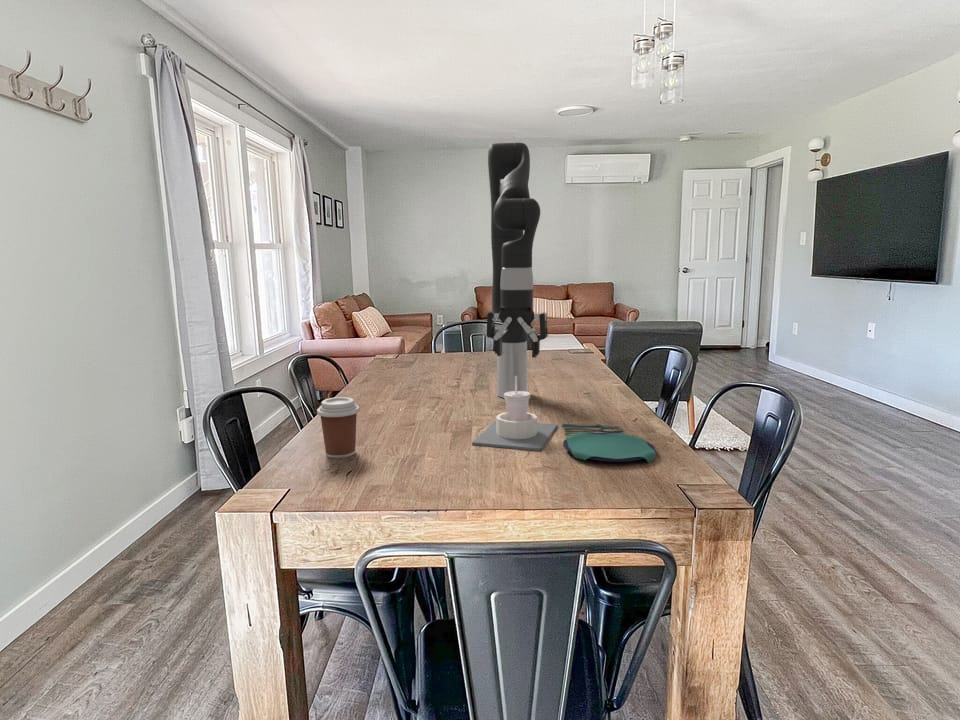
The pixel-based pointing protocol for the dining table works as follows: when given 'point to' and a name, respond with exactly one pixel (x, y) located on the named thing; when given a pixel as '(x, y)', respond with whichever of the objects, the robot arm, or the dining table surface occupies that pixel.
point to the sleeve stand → (516, 433)
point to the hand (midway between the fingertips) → (516, 356)
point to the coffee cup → (339, 426)
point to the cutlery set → (606, 444)
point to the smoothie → (517, 404)
